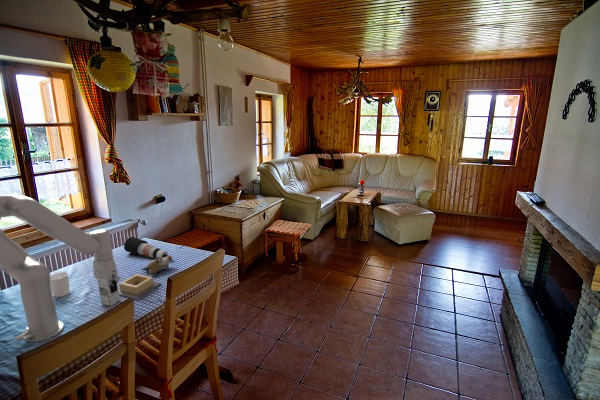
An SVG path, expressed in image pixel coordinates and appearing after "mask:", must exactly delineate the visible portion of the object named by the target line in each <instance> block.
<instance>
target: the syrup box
mask: <svg viewBox="0 0 600 400" xmlns="http://www.w3.org/2000/svg"><path fill="white" fill-rule="evenodd" d="M112 278H113V277H112ZM96 280H97V284H98V291H99V295H100V302H101V305H104V306H109V307H112V306H114V305H115V304H117V303H118V302H120V301H121V299H120V298H121V296H119V291H118V290H117V291H116V292H114V293H111V290H110V286H111V285H110V282H109V281H105V280H104V279H100V278H98V277H97V278H96ZM113 281H114V280H112V282H113ZM117 289H119V285H118V284H117ZM117 301H118V302H117ZM116 302H117V303H116ZM113 304H114V305H113Z"/></svg>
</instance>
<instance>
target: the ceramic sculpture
mask: <svg viewBox="0 0 600 400" xmlns="http://www.w3.org/2000/svg"><path fill="white" fill-rule="evenodd" d="M169 256H170V255H169ZM169 256H167V257H164V258H163V259H161V258H158V257H157V258H153V259H152V260H150V262H149V263H148V264H147V265H146V266H145V267H143V268H140V270H141V271H146V272H147V271H148V273H147V274H146V276H153V275H155V274H157V273H158V272H160V271H162V270H164V269H165V270H168V269H169V265H170V259H169Z"/></svg>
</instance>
